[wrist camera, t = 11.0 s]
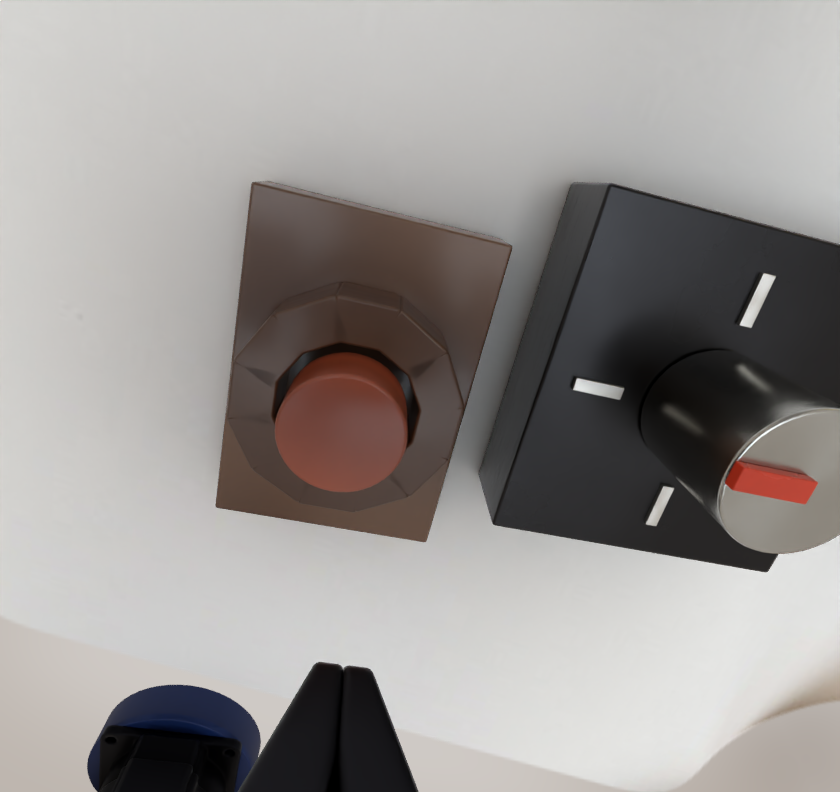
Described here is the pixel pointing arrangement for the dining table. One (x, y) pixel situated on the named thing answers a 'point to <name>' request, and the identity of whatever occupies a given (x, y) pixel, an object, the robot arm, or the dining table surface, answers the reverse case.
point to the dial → (749, 449)
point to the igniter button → (343, 423)
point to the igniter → (354, 346)
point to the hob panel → (647, 362)
